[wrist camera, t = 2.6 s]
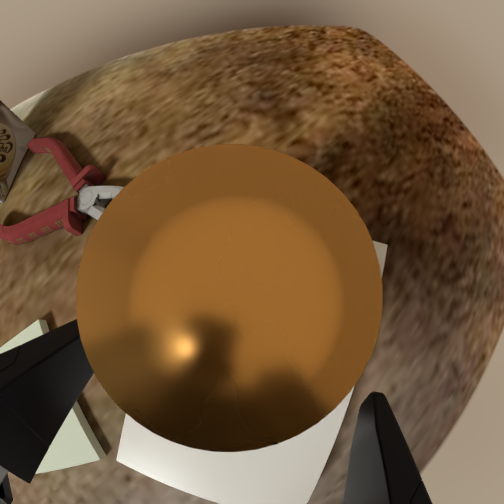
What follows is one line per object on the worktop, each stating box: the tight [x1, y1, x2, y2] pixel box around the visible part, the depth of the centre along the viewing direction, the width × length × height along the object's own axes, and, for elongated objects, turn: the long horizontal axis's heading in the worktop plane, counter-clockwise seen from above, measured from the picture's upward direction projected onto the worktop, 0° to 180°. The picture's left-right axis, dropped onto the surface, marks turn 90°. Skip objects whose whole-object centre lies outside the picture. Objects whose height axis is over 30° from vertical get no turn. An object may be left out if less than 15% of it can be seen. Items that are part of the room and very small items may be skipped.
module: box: [76, 144, 383, 452], centre depth 12 cm, size 5×5×15 cm
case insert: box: [117, 241, 387, 504], centre depth 17 cm, size 18×12×3 cm, turn 164°
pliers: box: [0, 137, 124, 244], centre depth 22 cm, size 12×20×3 cm, turn 75°
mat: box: [0, 319, 106, 474], centre depth 18 cm, size 12×12×1 cm
